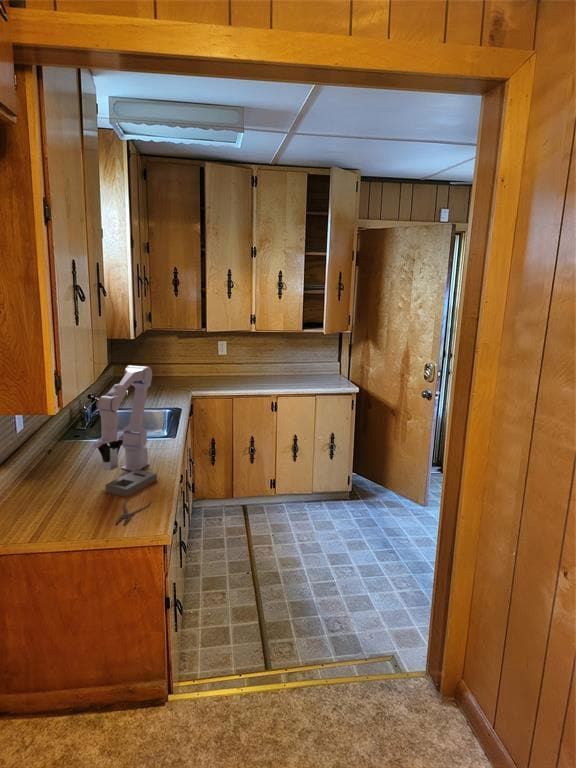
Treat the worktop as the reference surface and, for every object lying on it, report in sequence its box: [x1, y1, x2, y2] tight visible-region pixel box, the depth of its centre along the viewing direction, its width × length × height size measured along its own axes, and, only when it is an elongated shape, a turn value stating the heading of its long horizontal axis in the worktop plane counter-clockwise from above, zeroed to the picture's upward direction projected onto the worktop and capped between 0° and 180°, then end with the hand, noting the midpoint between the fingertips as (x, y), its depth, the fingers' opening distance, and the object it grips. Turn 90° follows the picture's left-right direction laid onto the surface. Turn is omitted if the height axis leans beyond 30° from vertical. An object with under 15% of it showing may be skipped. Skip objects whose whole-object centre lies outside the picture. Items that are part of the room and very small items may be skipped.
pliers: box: [115, 498, 153, 527], centre depth 169 cm, size 10×1×20 cm
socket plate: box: [104, 469, 158, 498], centre depth 189 cm, size 18×10×3 cm, turn 158°
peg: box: [101, 447, 119, 471], centre depth 189 cm, size 4×4×8 cm
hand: (110, 460), depth 189 cm, fingers closed on peg, 4 cm apart
